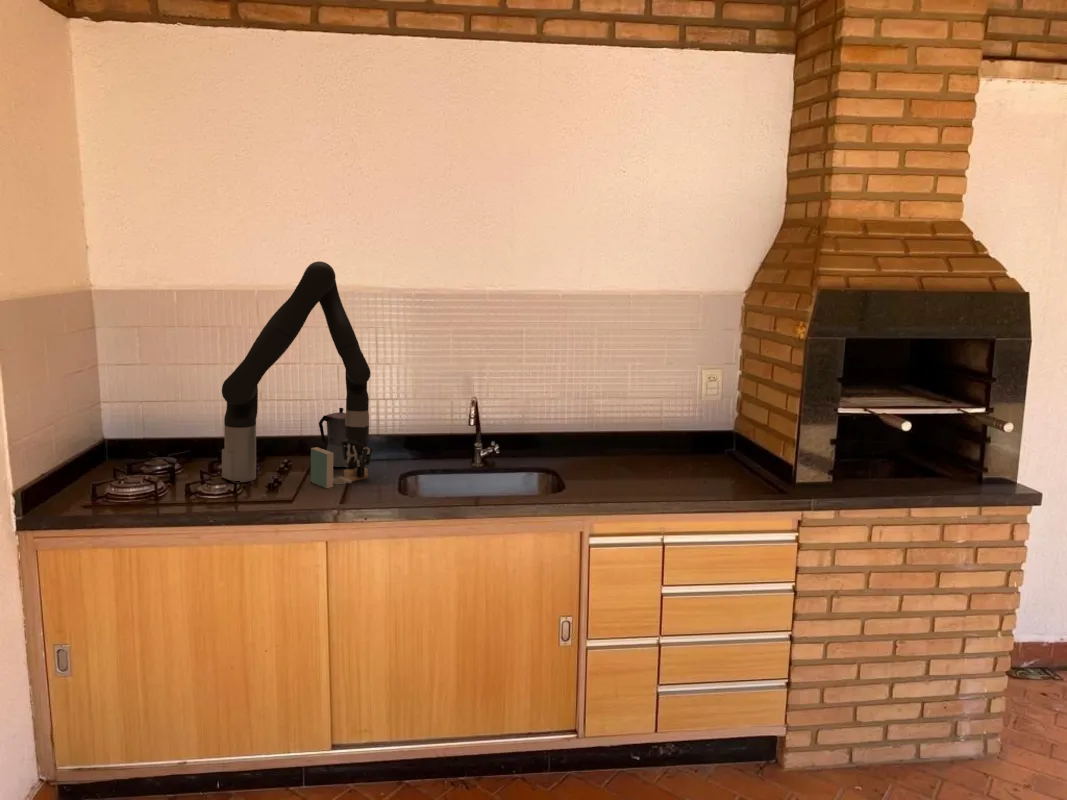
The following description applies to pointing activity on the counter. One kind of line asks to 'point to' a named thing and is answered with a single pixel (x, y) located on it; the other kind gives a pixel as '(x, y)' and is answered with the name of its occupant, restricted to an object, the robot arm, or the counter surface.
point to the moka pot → (335, 436)
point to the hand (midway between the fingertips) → (356, 475)
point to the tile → (322, 467)
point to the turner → (350, 476)
